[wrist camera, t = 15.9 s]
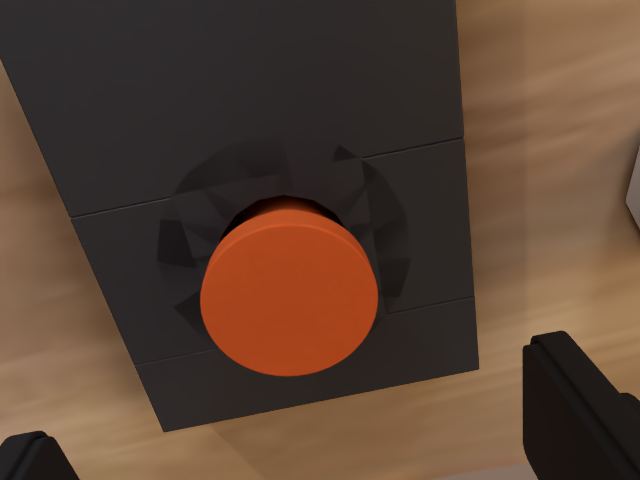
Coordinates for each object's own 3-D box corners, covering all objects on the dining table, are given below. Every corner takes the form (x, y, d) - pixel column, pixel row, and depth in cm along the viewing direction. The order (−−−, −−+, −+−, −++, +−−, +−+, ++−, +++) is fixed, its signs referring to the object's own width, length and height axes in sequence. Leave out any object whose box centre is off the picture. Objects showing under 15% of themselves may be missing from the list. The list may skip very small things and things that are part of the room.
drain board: (-93, -264, 13) (-169, -323, 11) (402, -372, 13) (427, -454, 11) (174, 393, 23) (163, 433, 21) (460, 335, 23) (479, 370, 21)
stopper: (204, 185, 19) (175, 245, 14) (342, 157, 19) (364, 206, 14) (239, 303, 22) (227, 391, 16) (363, 278, 22) (389, 359, 16)
